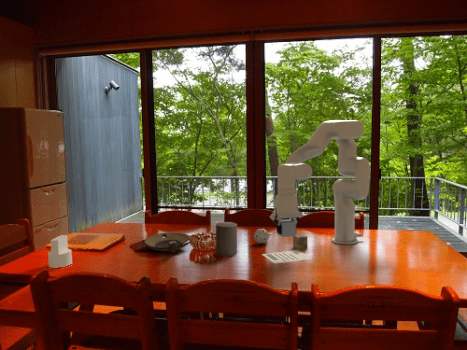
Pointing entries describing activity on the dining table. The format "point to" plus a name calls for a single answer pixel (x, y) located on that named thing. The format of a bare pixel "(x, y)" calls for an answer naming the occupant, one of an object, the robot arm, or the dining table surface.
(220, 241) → the pillar candle
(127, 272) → the dining table surface
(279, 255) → the letter
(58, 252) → the base with upright slab
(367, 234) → the dining table surface
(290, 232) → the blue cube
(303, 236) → the walnut block
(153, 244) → the oil lamp
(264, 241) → the game die
